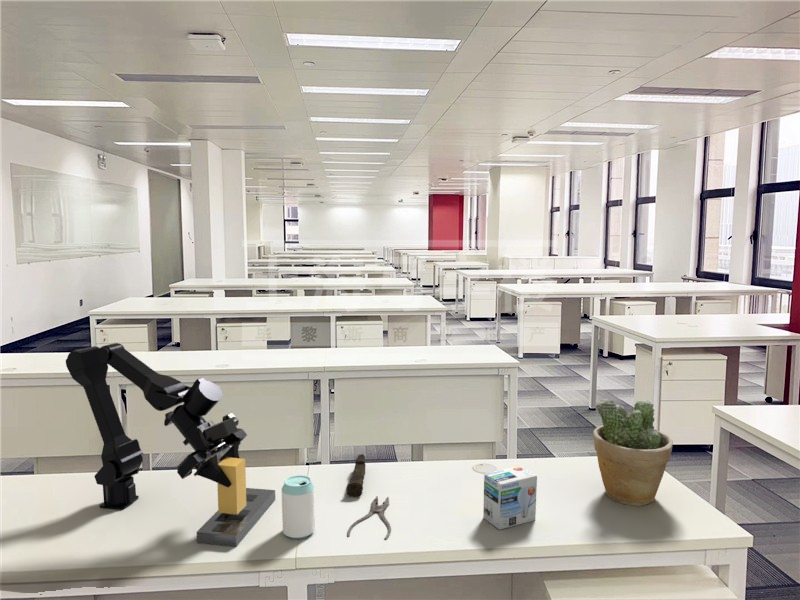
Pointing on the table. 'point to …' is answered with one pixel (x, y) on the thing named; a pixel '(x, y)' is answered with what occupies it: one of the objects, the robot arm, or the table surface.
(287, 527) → the can
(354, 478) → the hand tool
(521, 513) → the light bulb box
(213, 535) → the charcoal peg board
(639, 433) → the potted plant
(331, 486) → the table surface
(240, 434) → the robot arm
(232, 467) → the amber peg
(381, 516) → the pliers
